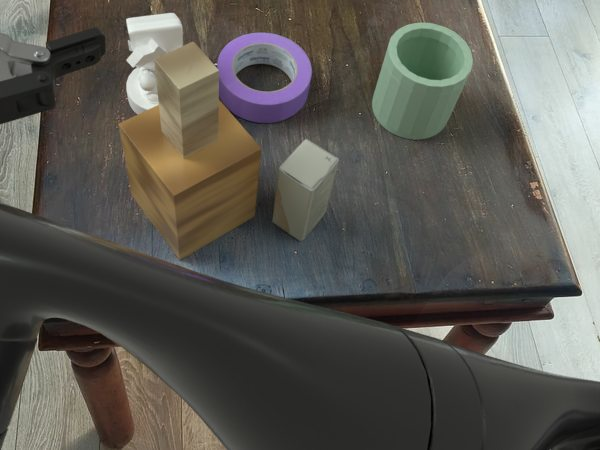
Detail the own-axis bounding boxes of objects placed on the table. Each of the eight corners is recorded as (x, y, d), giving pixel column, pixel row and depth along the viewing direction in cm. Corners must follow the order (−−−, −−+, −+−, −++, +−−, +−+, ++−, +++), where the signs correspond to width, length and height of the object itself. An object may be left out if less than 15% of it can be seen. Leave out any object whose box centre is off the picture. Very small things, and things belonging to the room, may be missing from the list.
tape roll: (327, 94, 90) (331, 73, 87) (258, 139, 85) (259, 119, 82) (267, 40, 94) (269, 18, 91) (197, 80, 89) (197, 59, 86)
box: (296, 193, 82) (307, 135, 73) (326, 213, 81) (341, 157, 72) (269, 223, 80) (277, 167, 70) (300, 244, 79) (312, 190, 69)
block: (218, 141, 69) (219, 70, 60) (183, 159, 67) (179, 89, 59) (196, 113, 70) (193, 41, 61) (161, 131, 69) (153, 58, 60)
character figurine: (134, 127, 84) (122, 56, 74) (121, 68, 89) (109, -6, 78) (206, 116, 86) (204, 45, 76) (190, 59, 91) (187, -15, 80)
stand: (254, 216, 80) (261, 148, 69) (179, 260, 76) (173, 196, 65) (205, 156, 83) (204, 82, 72) (131, 195, 80) (118, 123, 68)
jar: (464, 118, 91) (490, 63, 82) (407, 152, 87) (428, 99, 78) (412, 68, 94) (432, 11, 86) (356, 99, 90) (371, 42, 82)
